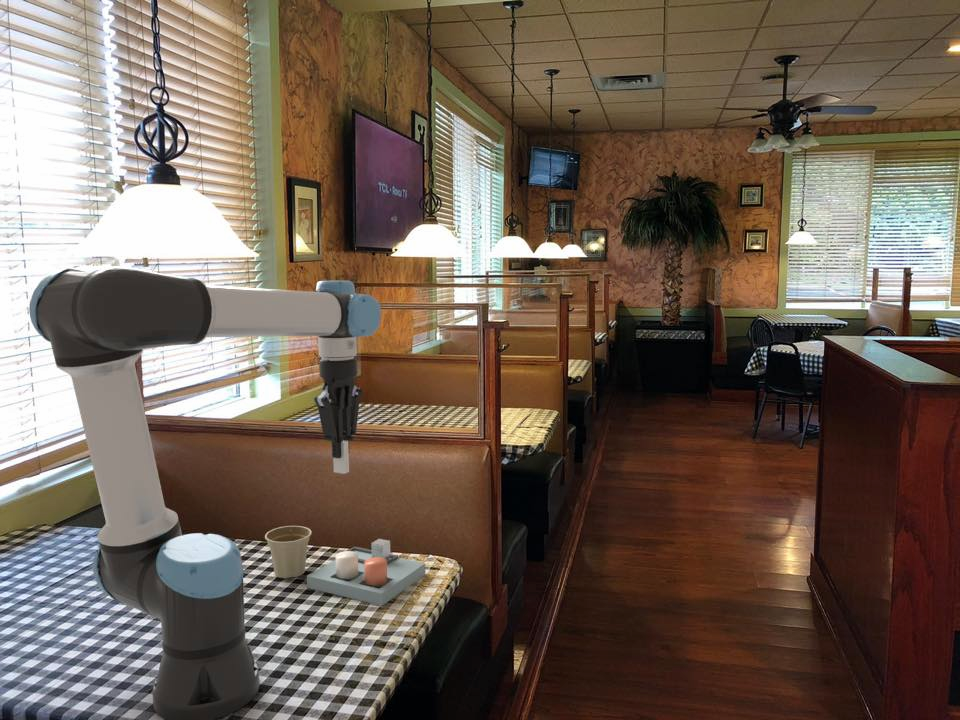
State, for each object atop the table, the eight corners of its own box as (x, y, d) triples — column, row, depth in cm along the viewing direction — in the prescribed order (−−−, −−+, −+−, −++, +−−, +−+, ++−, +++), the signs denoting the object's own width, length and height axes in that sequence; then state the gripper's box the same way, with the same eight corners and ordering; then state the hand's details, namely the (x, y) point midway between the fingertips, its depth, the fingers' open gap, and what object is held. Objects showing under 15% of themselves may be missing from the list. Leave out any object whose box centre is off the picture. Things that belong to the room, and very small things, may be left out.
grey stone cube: (382, 563, 155) (382, 545, 154) (371, 561, 156) (371, 543, 155) (390, 559, 157) (390, 540, 157) (379, 556, 158) (379, 538, 158)
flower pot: (306, 582, 152) (305, 542, 151) (260, 582, 152) (258, 541, 151) (317, 564, 161) (316, 525, 160) (274, 563, 161) (272, 525, 160)
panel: (381, 605, 141) (381, 590, 141) (307, 587, 149) (306, 573, 149) (425, 574, 155) (425, 560, 155) (355, 559, 164) (354, 546, 163)
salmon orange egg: (378, 587, 143) (378, 567, 143) (360, 583, 145) (359, 563, 145) (391, 578, 147) (391, 559, 147) (373, 574, 149) (372, 555, 149)
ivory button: (349, 580, 147) (348, 561, 146) (331, 576, 149) (331, 557, 148) (362, 572, 150) (362, 553, 150) (345, 568, 152) (344, 549, 152)
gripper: (332, 362, 142) (336, 482, 145) (372, 355, 153) (375, 466, 156) (301, 360, 145) (305, 478, 148) (343, 353, 157) (346, 462, 160)
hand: (341, 471), depth 152 cm, fingers closed
